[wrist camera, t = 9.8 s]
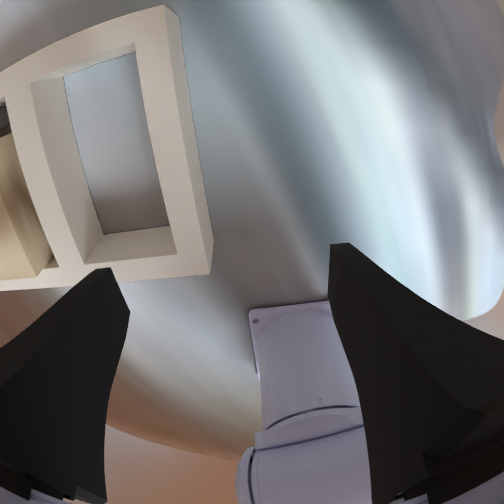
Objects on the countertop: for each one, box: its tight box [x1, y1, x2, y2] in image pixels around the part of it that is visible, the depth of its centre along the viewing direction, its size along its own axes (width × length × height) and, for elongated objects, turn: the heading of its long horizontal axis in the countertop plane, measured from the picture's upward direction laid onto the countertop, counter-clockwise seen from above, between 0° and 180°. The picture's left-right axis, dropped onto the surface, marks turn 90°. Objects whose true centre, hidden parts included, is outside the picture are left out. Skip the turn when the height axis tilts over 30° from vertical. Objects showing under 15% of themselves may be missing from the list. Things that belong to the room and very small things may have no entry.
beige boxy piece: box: [0, 125, 54, 281], centre depth 15 cm, size 9×4×5 cm, turn 6°
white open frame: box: [0, 4, 214, 291], centre depth 15 cm, size 14×17×4 cm
